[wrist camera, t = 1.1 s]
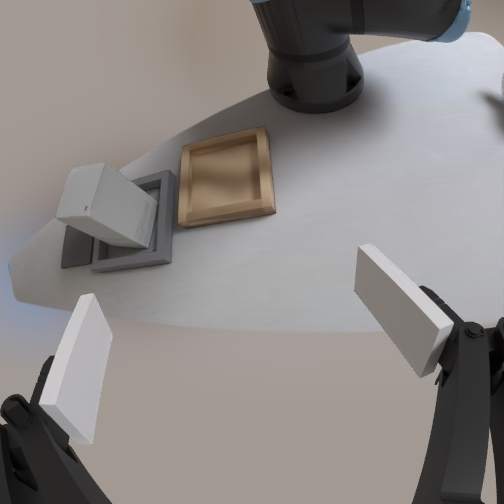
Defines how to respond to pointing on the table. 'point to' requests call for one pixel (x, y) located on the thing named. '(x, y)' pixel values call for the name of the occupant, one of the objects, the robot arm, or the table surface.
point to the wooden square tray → (226, 179)
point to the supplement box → (107, 206)
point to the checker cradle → (163, 232)
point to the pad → (76, 248)
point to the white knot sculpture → (503, 86)
